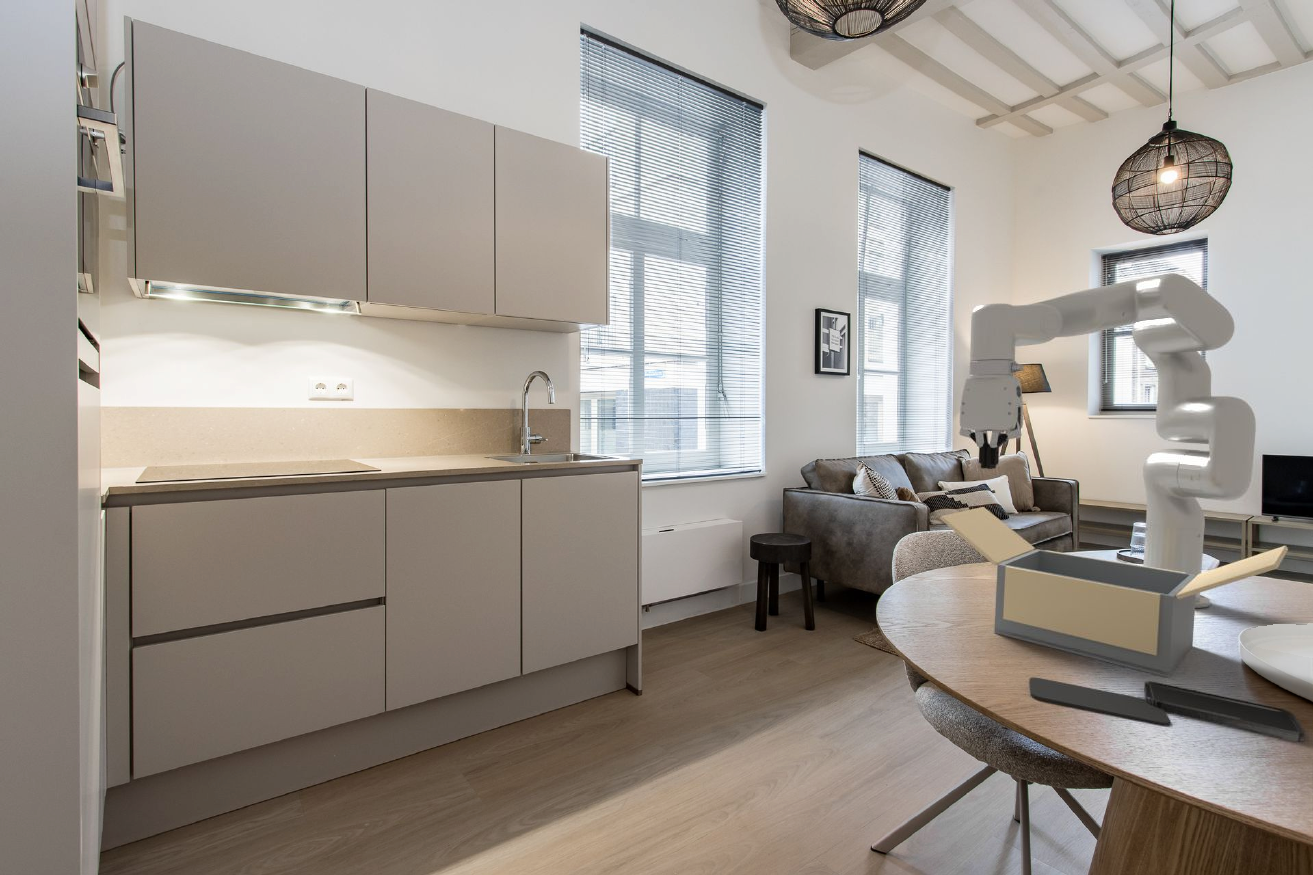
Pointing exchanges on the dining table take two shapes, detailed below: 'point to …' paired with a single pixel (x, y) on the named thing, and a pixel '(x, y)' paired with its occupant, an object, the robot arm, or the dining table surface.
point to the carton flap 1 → (987, 534)
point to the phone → (1097, 701)
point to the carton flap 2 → (1234, 572)
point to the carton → (1097, 609)
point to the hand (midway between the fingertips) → (988, 468)
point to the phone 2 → (1224, 711)
